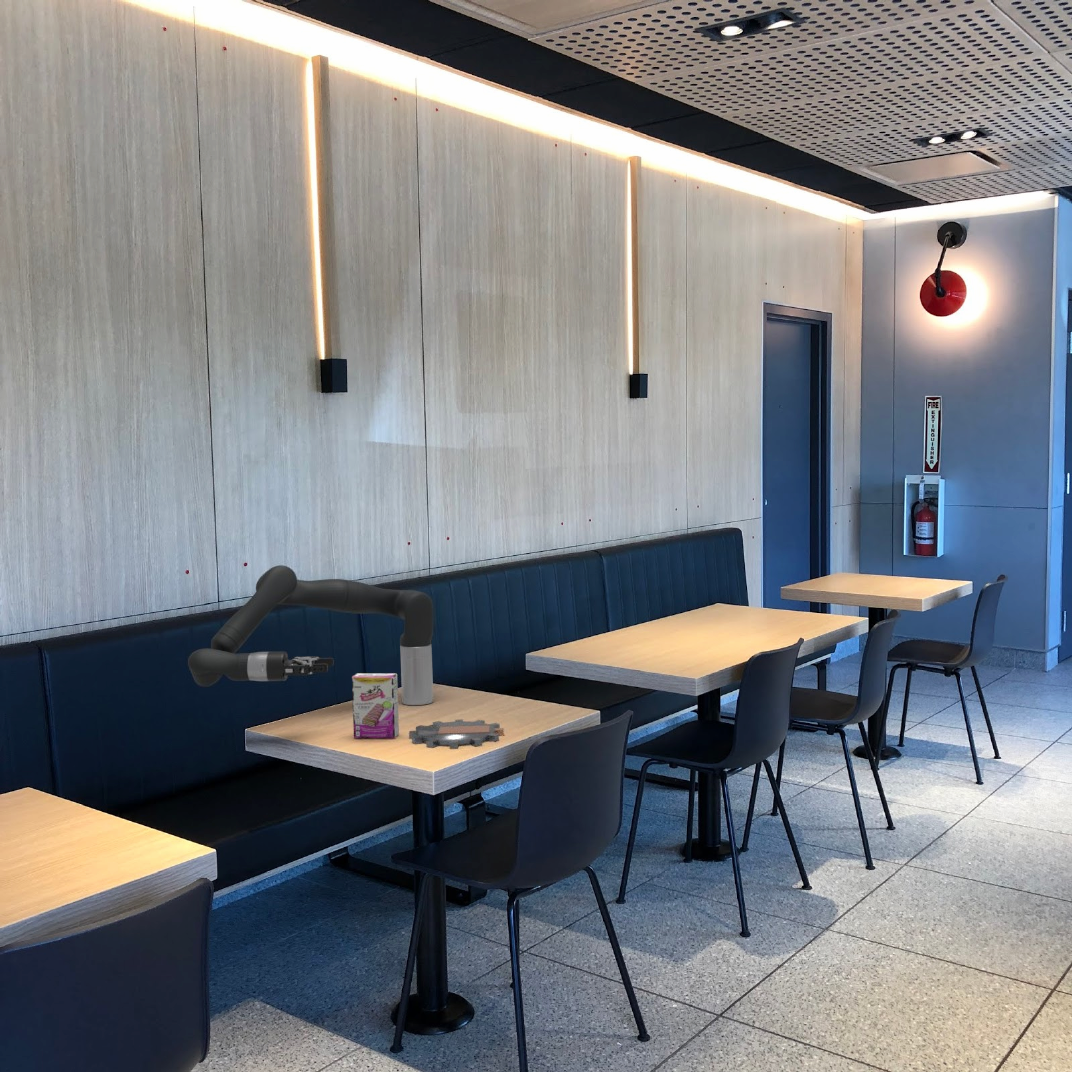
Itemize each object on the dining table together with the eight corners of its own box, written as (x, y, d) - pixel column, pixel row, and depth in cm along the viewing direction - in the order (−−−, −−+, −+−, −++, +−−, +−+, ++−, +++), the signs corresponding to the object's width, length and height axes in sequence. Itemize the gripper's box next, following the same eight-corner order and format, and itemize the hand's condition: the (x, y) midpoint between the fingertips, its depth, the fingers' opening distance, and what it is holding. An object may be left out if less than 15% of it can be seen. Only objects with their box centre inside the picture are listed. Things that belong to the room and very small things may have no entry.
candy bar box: (353, 739, 289) (350, 676, 288) (358, 734, 294) (355, 672, 293) (395, 739, 288) (393, 676, 286) (399, 734, 293) (397, 672, 291)
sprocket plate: (414, 726, 301) (413, 720, 301) (504, 723, 301) (504, 717, 301) (404, 749, 277) (404, 743, 276) (502, 746, 277) (502, 740, 277)
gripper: (261, 656, 282) (325, 655, 282) (273, 647, 296) (334, 646, 296) (262, 686, 282) (326, 684, 282) (274, 675, 296) (335, 674, 296)
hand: (330, 665), depth 289 cm, fingers open, 8 cm apart
